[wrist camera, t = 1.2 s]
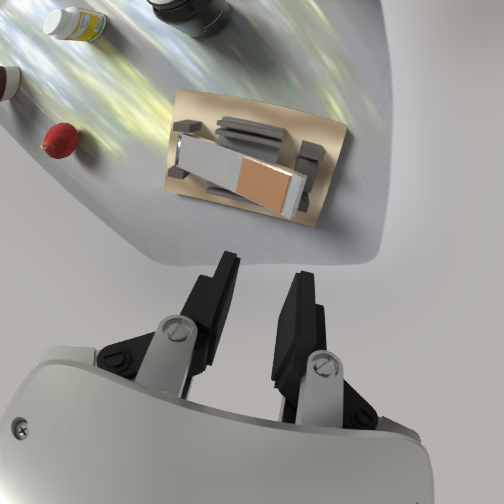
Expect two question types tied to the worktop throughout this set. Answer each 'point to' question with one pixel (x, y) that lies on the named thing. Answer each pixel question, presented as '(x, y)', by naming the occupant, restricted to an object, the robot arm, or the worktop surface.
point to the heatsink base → (263, 114)
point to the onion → (60, 140)
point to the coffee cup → (9, 82)
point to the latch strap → (242, 173)
